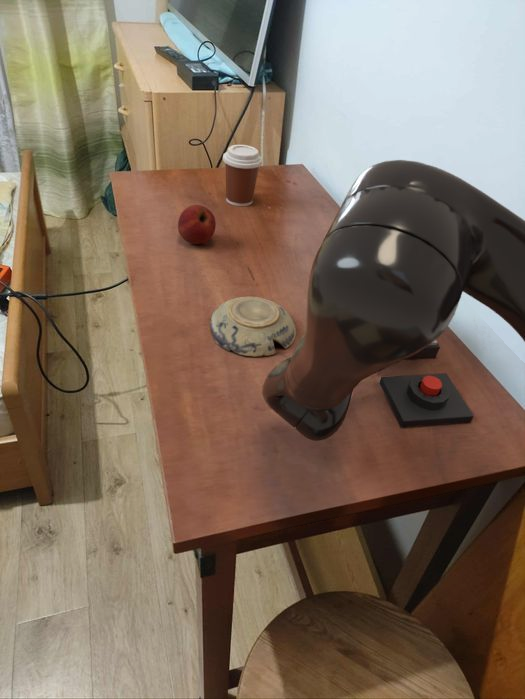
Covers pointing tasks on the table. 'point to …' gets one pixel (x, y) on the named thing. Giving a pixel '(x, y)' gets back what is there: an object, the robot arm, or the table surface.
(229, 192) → the coffee cup
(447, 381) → the panel
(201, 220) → the apple
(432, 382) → the button
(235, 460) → the table surface
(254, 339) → the decorative bowl
